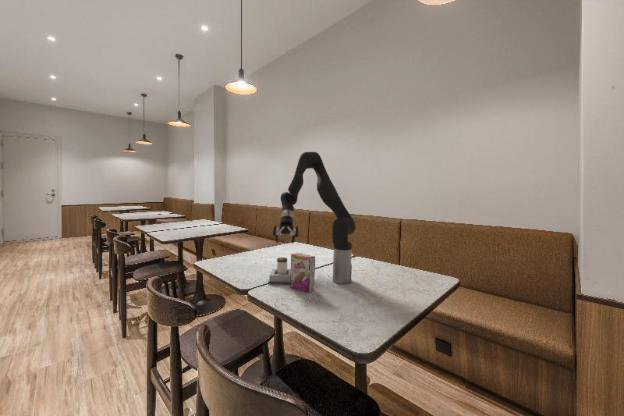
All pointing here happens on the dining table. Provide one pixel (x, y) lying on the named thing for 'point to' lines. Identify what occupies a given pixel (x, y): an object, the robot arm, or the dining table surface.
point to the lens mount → (279, 277)
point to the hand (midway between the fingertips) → (284, 242)
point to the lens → (282, 265)
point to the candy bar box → (302, 272)
